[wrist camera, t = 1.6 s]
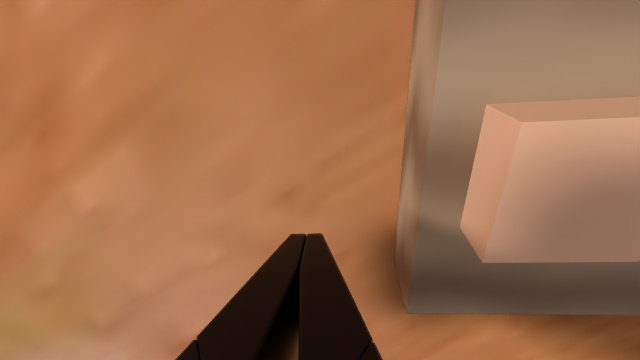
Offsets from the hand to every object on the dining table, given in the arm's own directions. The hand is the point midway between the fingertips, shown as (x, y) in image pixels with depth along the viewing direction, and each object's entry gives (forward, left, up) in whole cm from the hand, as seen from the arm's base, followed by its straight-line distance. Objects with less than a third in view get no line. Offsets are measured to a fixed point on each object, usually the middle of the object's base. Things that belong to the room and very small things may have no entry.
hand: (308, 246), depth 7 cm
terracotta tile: (0, -8, -4) cm, 9 cm away
